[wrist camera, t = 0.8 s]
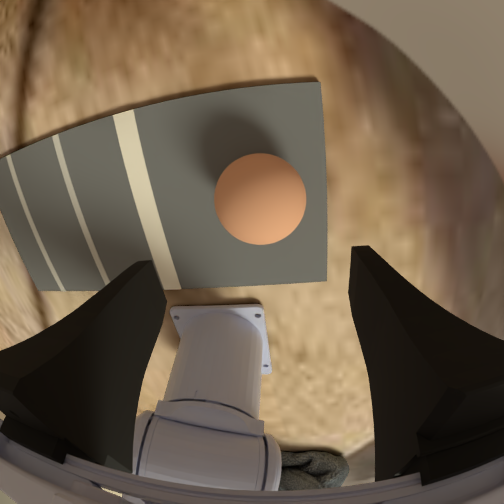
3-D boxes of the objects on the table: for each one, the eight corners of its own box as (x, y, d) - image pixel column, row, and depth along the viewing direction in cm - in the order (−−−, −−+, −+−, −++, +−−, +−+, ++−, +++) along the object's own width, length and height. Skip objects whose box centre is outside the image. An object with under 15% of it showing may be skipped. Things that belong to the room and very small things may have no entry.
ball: (304, 216, 20) (311, 259, 16) (228, 221, 20) (216, 266, 16) (299, 140, 17) (308, 165, 13) (215, 149, 18) (196, 175, 14)
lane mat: (326, 277, 23) (326, 281, 23) (40, 288, 26) (38, 291, 26) (319, 81, 15) (320, 82, 15) (-12, 165, 19) (-15, 166, 18)
